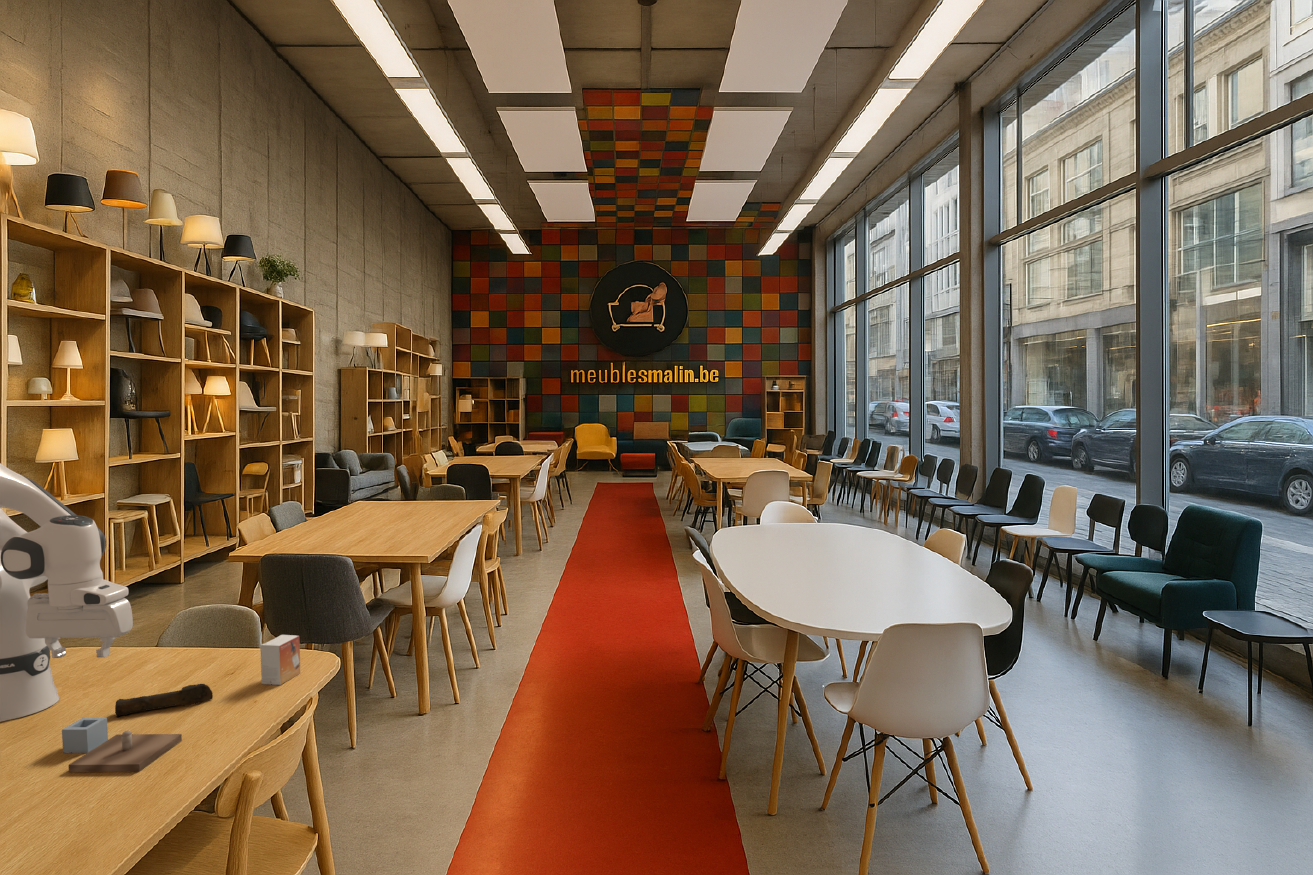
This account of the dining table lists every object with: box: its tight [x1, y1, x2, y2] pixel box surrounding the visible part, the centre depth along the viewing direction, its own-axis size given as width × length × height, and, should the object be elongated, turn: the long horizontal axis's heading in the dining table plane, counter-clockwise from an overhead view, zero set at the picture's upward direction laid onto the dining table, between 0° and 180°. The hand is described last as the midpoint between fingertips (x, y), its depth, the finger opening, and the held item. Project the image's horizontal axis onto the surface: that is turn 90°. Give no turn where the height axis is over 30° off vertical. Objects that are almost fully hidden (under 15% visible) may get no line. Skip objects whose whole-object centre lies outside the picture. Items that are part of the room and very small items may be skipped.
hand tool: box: [114, 683, 214, 718], centre depth 160 cm, size 19×4×5 cm, turn 112°
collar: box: [61, 717, 109, 754], centre depth 143 cm, size 5×5×5 cm
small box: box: [259, 634, 301, 686], centre depth 177 cm, size 8×6×10 cm
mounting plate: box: [68, 730, 183, 773], centre depth 139 cm, size 14×12×5 cm
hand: (81, 656), depth 142 cm, fingers open, 8 cm apart
